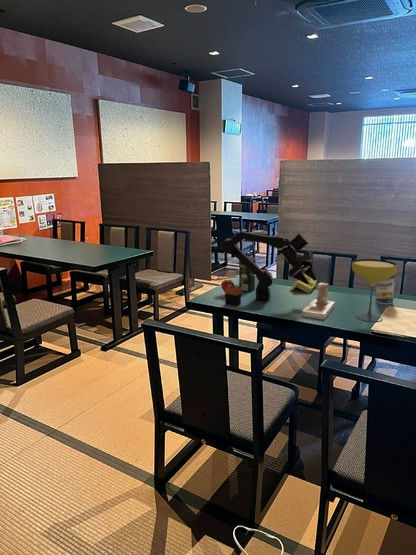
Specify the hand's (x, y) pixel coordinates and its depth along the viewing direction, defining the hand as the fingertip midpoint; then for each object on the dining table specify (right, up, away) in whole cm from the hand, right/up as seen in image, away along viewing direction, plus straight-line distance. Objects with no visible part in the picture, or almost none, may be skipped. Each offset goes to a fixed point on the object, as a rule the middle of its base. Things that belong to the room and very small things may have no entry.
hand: (312, 281), depth 195 cm
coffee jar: (-28, -5, +32) cm, 43 cm away
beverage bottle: (+38, -11, +8) cm, 40 cm away
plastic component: (+5, -4, +34) cm, 35 cm away
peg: (+4, -13, -1) cm, 13 cm away
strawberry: (-40, -7, +22) cm, 46 cm away
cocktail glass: (+22, -16, -14) cm, 31 cm away
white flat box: (+2, -14, -5) cm, 15 cm away
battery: (-38, -12, +6) cm, 40 cm away
